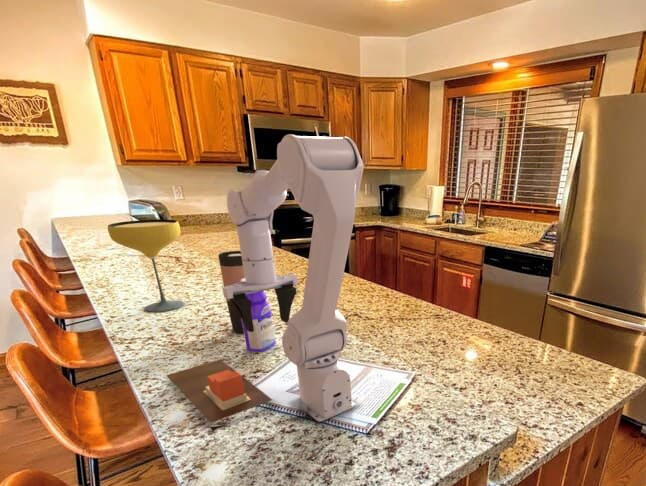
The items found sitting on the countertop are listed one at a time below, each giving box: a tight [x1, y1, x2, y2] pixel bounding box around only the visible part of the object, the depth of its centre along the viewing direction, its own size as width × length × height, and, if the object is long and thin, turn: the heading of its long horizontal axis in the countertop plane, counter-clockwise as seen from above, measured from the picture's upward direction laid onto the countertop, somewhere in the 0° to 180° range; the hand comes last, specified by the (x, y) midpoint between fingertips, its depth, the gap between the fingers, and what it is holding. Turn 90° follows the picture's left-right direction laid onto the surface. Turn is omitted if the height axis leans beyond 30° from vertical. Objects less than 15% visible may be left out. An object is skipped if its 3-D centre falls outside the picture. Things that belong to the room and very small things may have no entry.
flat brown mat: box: [166, 359, 273, 431], centre depth 82 cm, size 24×11×2 cm, turn 43°
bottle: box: [241, 278, 277, 353], centre depth 97 cm, size 7×6×17 cm
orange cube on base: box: [205, 370, 247, 407], centre depth 77 cm, size 8×4×5 cm, turn 43°
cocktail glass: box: [107, 218, 185, 313], centre depth 127 cm, size 18×18×25 cm
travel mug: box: [217, 250, 245, 335], centre depth 110 cm, size 8×8×20 cm
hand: (268, 325), depth 86 cm, fingers open, 7 cm apart
